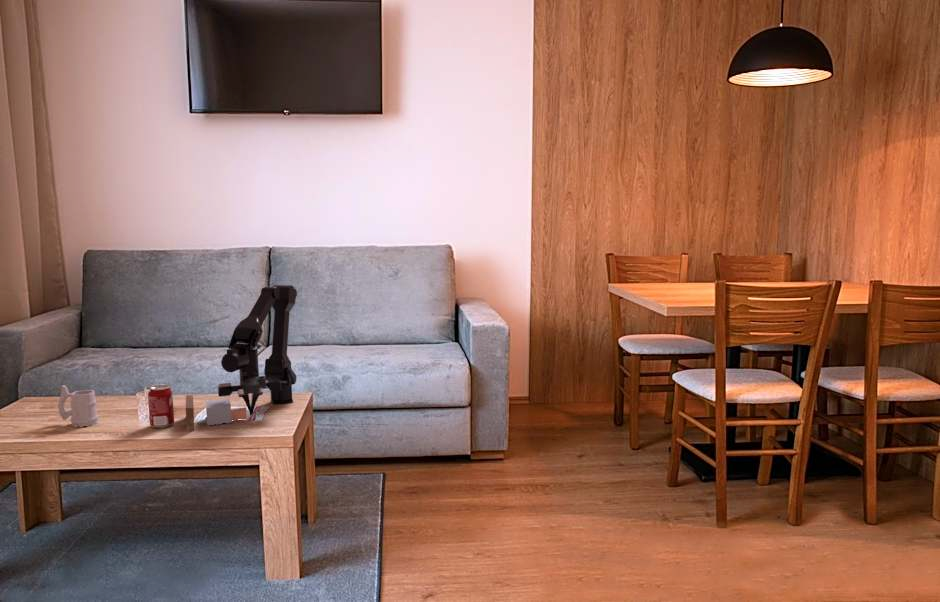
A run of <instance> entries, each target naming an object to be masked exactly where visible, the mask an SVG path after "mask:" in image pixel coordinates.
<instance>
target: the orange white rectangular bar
mask: <svg viewBox="0 0 940 602" xmlns="http://www.w3.org/2000/svg"><path fill="white" fill-rule="evenodd" d="M247 409H248V408H247V406H246V407H236V408H231V419H232V420H238V419H247V420H248V411H247Z"/></svg>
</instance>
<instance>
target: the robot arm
mask: <svg viewBox="0 0 940 602" xmlns="http://www.w3.org/2000/svg"><path fill="white" fill-rule="evenodd" d="M297 295H298V291H297V289H296V288H295V287H294V286H293V285H291V284H290V285H288V284H287V285H286V284H274V285H273V286H264V287H262V288H261V289H260V294H259V296H258V299H257V300H256V302H255V303H254V305H253V307H252V308H251V311H250V312H249V314H248V315H247V317H246V318H244V319H242V320H241V321H239V323H238V324H237V325H236V327H235V328H234V330H233V332H232V335H231V339H230V342H229V344H228V347H227V348H228V349H226V353H225V354H224V355H223V356H222V358H221V360H220V361H221V363H220V364H221V367H222V368H223V370H225V372H227V373H235V372H237V371H239V384H236V385H232V382H225V383H219V384H218V385H217V394H218V397H230V396H231V395H232V394H233V393H235V392H236V393H237V395H238V397H239V398H242V399H243V401H244V402H245V404H246V408H247V409H248V412H249V414H250V415H253V414H254V410H255V406H256V403H257V401H258V398H259V397H260V396H262V395H264V391H263V390H265V389H269V391H270V392H269V394H270V401H271V402H272V404H274V405H276V404H287V403H293V402H294V399H293V385H295V384H296V383H297V377H298V376H297V375H296V373H295V372H294V370H293V369H292V361H291V359H290V357H289V356H288V343H289V325H290V313H291V310H292V309H293V307H294V306H295V305H296V299H297ZM271 309H273V311H274V315H273V329H272V346H271V354H270V355H269V357H268V358H265V361H264V369H263V372H264V373H263V374H264V375H260V371H259V353H258V350H259V349H261V348H262V347H261V345H260V344H258V343H259V342H260V340H261V337H262V335H263V332H264V331H263V327H262V326H263V323H264V322H265V320H266V318H267V316H268V315H269V314H270V313H269V312H270V311H271ZM250 394H251V396H250ZM250 398H251V399H250Z"/></svg>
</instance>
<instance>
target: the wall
mask: <svg viewBox="0 0 940 602" xmlns="http://www.w3.org/2000/svg"><path fill="white" fill-rule="evenodd" d="M185 419H186V420H185V423H186V432H194V431H195V408H194V394H186V395H185Z"/></svg>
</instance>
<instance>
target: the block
mask: <svg viewBox="0 0 940 602" xmlns="http://www.w3.org/2000/svg"><path fill="white" fill-rule="evenodd" d="M230 400H231V399H230V398H223V399H213V400H212V399H211V400H205V410H206V425H207V426H213V425H214V426H216V425H223V424H222V423H226V424H232V423H233V421H232V419H231V409H232V405H231V401H230ZM230 422H231V423H230ZM215 424H216V425H215Z"/></svg>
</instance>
